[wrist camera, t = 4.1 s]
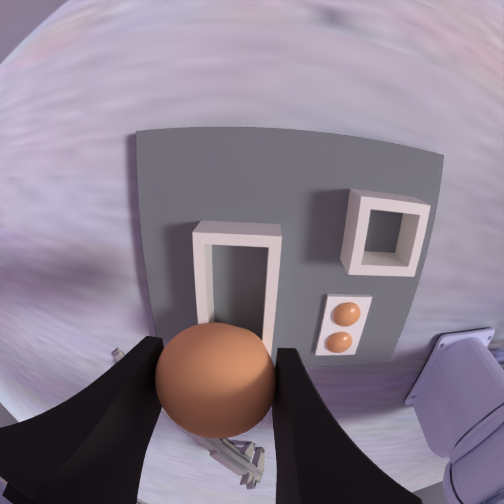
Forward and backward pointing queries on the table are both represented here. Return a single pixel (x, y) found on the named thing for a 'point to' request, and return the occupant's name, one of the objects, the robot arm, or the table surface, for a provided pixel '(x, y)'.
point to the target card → (342, 324)
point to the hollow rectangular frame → (236, 236)
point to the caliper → (228, 452)
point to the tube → (408, 237)
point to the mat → (292, 228)
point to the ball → (215, 380)
